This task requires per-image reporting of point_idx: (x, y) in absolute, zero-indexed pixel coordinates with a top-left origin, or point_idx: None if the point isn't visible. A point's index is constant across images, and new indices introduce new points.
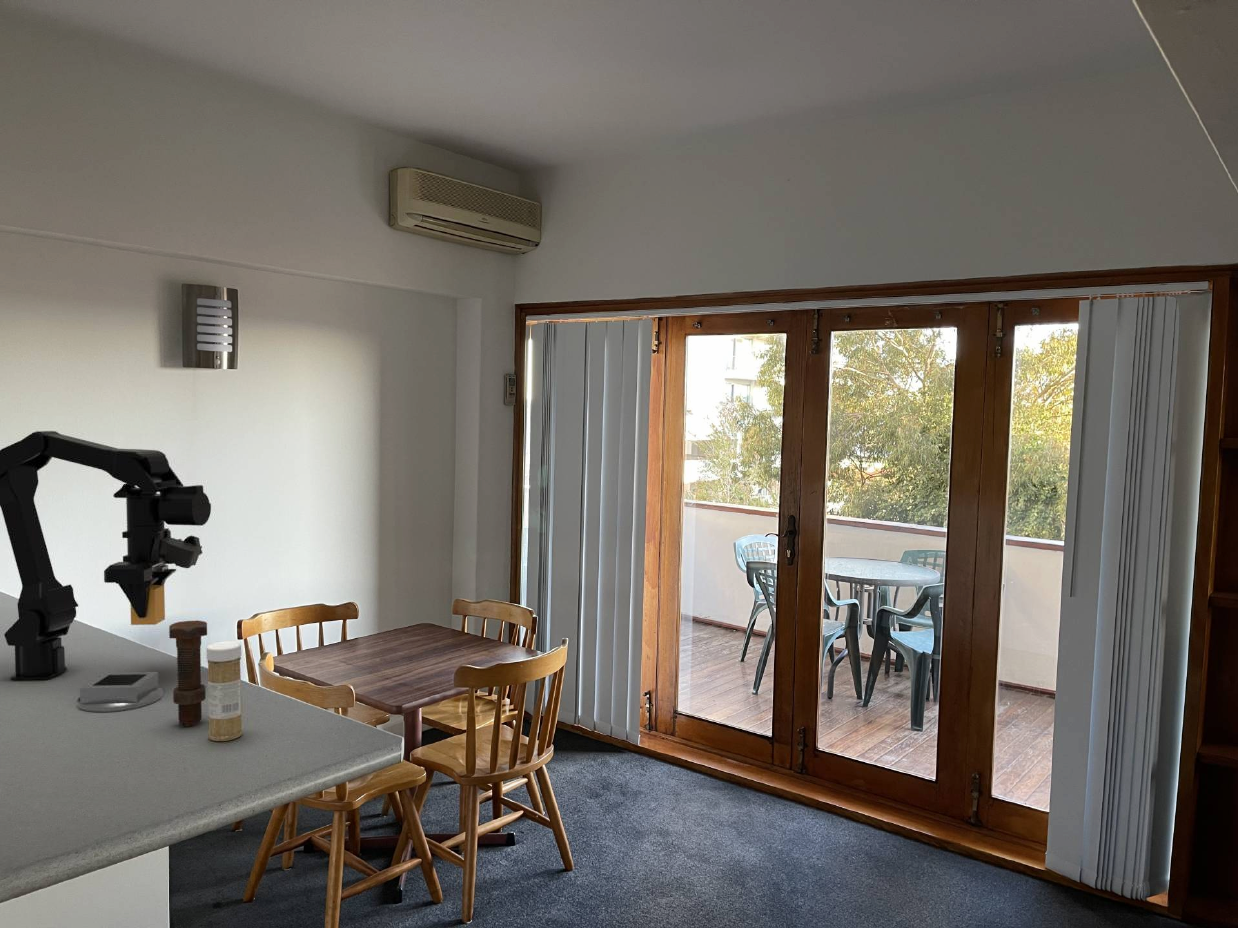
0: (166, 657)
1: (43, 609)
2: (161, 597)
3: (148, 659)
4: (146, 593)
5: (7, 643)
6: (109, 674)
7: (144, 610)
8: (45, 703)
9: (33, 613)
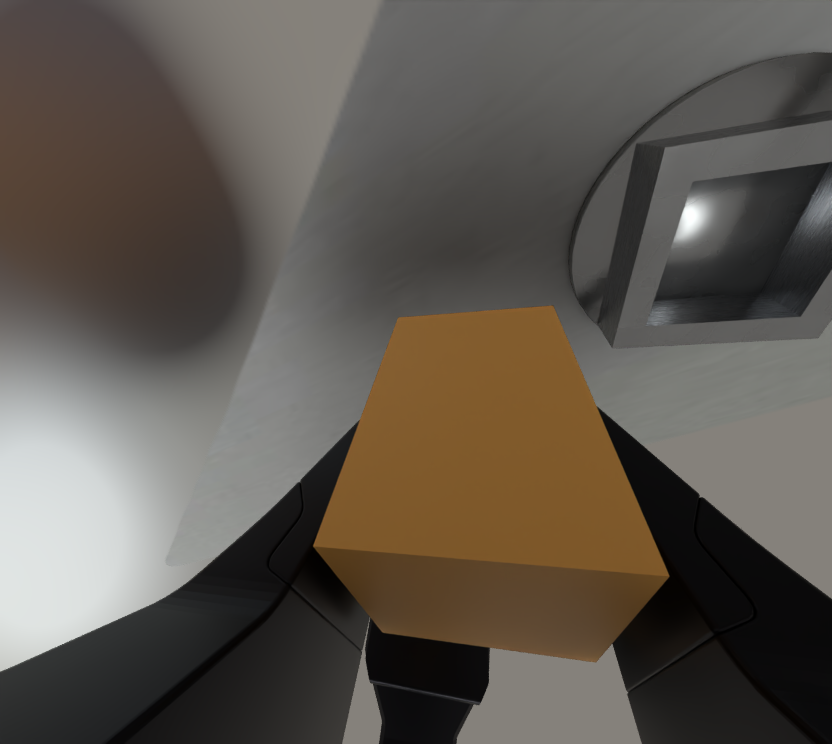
0: (262, 320)
1: None
2: (427, 431)
3: (293, 351)
4: (799, 580)
5: None
6: (640, 327)
7: (608, 422)
8: (657, 398)
9: None
